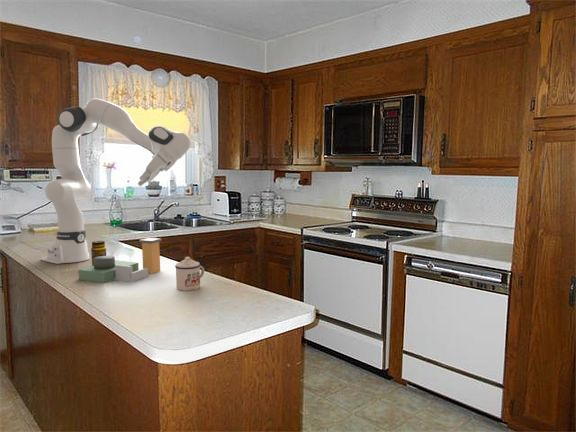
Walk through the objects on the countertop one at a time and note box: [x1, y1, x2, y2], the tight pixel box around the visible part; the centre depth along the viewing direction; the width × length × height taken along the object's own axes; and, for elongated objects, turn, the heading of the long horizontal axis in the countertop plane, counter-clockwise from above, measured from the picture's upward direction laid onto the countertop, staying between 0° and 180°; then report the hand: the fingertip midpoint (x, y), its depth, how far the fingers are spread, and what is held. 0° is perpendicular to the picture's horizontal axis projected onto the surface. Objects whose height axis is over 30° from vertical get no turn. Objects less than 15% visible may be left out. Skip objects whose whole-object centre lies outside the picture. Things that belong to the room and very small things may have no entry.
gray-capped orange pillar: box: [138, 237, 163, 274], centre depth 191 cm, size 6×6×14 cm
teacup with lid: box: [174, 256, 205, 292], centre depth 168 cm, size 12×9×12 cm
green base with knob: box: [77, 255, 149, 284], centre depth 183 cm, size 22×19×8 cm
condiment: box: [90, 240, 107, 266], centre depth 197 cm, size 7×8×12 cm
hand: (139, 182), depth 193 cm, fingers open, 8 cm apart
